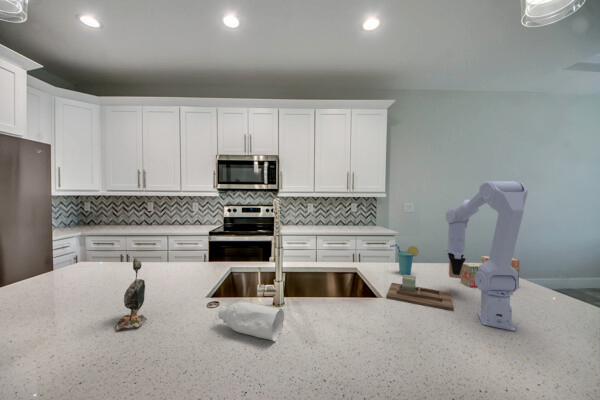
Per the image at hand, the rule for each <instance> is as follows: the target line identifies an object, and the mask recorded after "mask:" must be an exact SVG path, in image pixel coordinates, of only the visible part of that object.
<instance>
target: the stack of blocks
mask: <svg viewBox="0 0 600 400" xmlns="http://www.w3.org/2000/svg"><path fill="white" fill-rule="evenodd" d="M488 260H489V256H485V255H484V256H483V255H481V258H480V262H464V263H463V279H460V283H462V284H463V285H465V286H466V287H468V288H478V287H477V285H476V283H475V274H476V272H477V271H478V270H479V266H480V265H481V264H483V263H485V262H487V261H488ZM510 266H511V267H513V268H514V269H515V270H516V271H517V272H518V278H517V279H518V288H517V289H519V288H520V287H519V286H520V285H519V284H520V279H519V278H520V259H517V258H514V257H512V261H511V265H510Z"/></svg>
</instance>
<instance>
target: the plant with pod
mask: <svg viewBox="0 0 600 400" xmlns="http://www.w3.org/2000/svg"><path fill="white" fill-rule="evenodd" d="M142 266H143V265H142V260H140V258H138V257H134V258H133V261H132V269H133V271H134V272H135V280H133V282H131V283H130V284H129V286H128V287H127V289H126V291H125V292H124V295H123V303H124V307H125V308H126V309H128V310H130V314H126V315H124V316H122V318H120V319H119V320H118V321H117V322H116V323H115V327H116V329H115V330H116V331H119V330H121V329H123V328H125V329H126V328H129V329H132V328H134V329H137V328H140V327H141V326H142V325H143V323H144V322H146V321H147V317H145V315H143V314H141V315H139V314H138V312H139V311H140V309H141V308H142V306H143V305H144V302H145V290H146V282H145V280H144V279H142V278H138V279H137V277H138V273H139V270H141V268H142Z"/></svg>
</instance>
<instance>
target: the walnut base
mask: <svg viewBox="0 0 600 400" xmlns="http://www.w3.org/2000/svg"><path fill="white" fill-rule="evenodd" d="M416 277H417V275H416V276H415V275H402V277H401V278H402V280H401V281H402V283H396V282H391V283H390V286H389V289H388V291H387V293H386V296H385V298H386V299H388V300H394V301H399V302H405V303H409V304H415V305H420V306H425V307H430V308H436V309H441V310H446V311H451V312H454V311H455V310H454V309H455V308H454V302H453V299H452V294H451V292H450V291H446V290H440V289H433V288H427V287H419V286H416V280H417V279H416Z"/></svg>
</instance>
